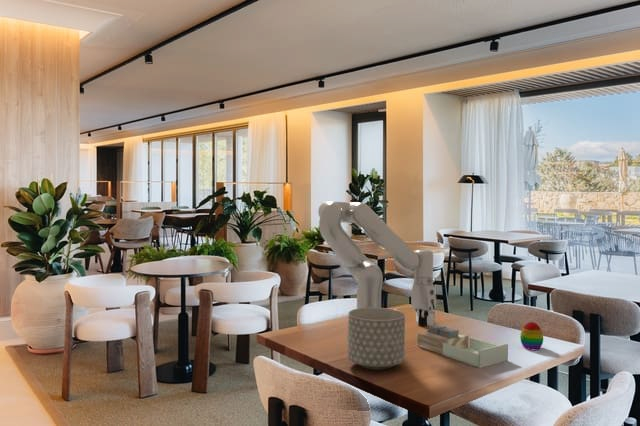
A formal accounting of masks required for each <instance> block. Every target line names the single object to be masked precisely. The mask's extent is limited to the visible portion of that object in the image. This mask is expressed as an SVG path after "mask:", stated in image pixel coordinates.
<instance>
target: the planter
mask: <svg viewBox="0 0 640 426" xmlns="http://www.w3.org/2000/svg"><path fill="white" fill-rule="evenodd" d="M347 322H348V325H347V327H348V328H347V329H348V331H347V332H348V334H347V335H348V340H347V344H348V345H347V346H348V347H347V349H348V350H347V359H348V360H349V361H350V362H353V363H355V364H357V365H359V366H360V367H362V368H364V369H367V370H370V371H384V370H388V369H391V368H392V367H394V366H397V365H398V366H399V365H400V364H402V363H403V362H404V361H405V346H406V345H405V342H406V341H405V334H406V331H405V329H406V324H405V323H406V313H404V312H403V311H401V310H398V309H393V308H387V307H386V308H385V307H381V308H359V309H357V308H355V309H351V310H350V311H348V321H347Z"/></svg>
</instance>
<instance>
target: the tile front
mask: <svg viewBox="0 0 640 426" xmlns="http://www.w3.org/2000/svg"><path fill="white" fill-rule="evenodd" d="M459 333H460V332H459V329H456V328H452V327H447V328H443V329H439V336H442V337H445V338H449V339H450V338H455V337H458V334H459Z"/></svg>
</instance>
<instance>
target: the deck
mask: <svg viewBox="0 0 640 426" xmlns="http://www.w3.org/2000/svg"><path fill="white" fill-rule="evenodd" d="M443 343H446V344H449V345H452V346H455V347H459V348H462V349H465V348H469V343H470V337H469V335H467V334H464V333H460V332H459V334H458V337H455V338H450V339H449V338H445V337H442V336H439V335H436V334H432V333H429V332H428V330H427V331H422V332H418V333H417V347H419V348H423V349H425V350H428V351H431V352H433V353H437V354H440V355H442V356H443Z"/></svg>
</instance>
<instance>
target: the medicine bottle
mask: <svg viewBox="0 0 640 426" xmlns="http://www.w3.org/2000/svg"><path fill="white" fill-rule="evenodd" d="M435 310H436V309H434V310H433V311H434V313H433V314H429V315H428V317H427V326H429V325H435V314H436V311H435ZM415 312H416V311H415ZM418 320H419V316H418V315H417V312H416V313H415V322H416V323H417V324H418Z"/></svg>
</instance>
